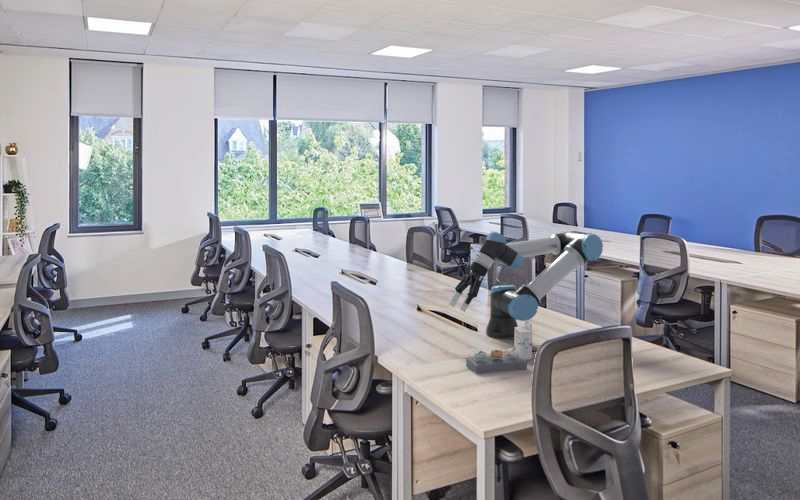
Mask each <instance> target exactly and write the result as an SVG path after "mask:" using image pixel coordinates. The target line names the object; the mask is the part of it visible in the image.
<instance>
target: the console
mask: <svg viewBox="0 0 800 500" xmlns="http://www.w3.org/2000/svg"><path fill="white" fill-rule="evenodd" d="M465 359H466V365H465V366H466V367H467V368H469V369H470V371H472V372H474V373H475V374H487V373H496V372H508V371H517V370H518V371H519V370H527V369H528V361H527V360H524V359H523V358H521V357H520V356H517V357H511V356H508V354H502V358H493V357H491V355H490V356H486V358H485V359H482V360H479V359H475V358H474V357H466V358H465Z"/></svg>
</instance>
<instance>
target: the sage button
mask: <svg viewBox="0 0 800 500" xmlns="http://www.w3.org/2000/svg"><path fill="white" fill-rule="evenodd" d="M486 355H487V354H486V352H485V351H483V350H478V351H473V358H475V359H479V360H482V359H485V358H486V357H487V356H486Z"/></svg>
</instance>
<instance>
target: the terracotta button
mask: <svg viewBox="0 0 800 500" xmlns="http://www.w3.org/2000/svg"><path fill="white" fill-rule="evenodd" d="M502 355H504V354H503V351H502V350H500V349H492V350H491V351H490V356H491V357H493V358H502Z"/></svg>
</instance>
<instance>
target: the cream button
mask: <svg viewBox="0 0 800 500" xmlns="http://www.w3.org/2000/svg"><path fill="white" fill-rule="evenodd" d="M507 355H508V356H511V357H517V356H519V350H518V349H514V348H508V349H507Z"/></svg>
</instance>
